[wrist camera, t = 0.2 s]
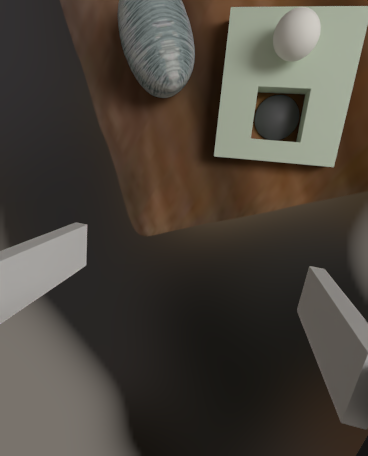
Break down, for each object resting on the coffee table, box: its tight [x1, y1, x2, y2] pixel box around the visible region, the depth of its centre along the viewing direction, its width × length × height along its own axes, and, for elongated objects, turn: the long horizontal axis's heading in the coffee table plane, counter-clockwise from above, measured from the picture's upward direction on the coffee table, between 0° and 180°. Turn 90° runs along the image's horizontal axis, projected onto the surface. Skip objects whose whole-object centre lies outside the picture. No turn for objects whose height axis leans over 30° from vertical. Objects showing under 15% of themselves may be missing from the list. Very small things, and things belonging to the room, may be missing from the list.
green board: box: [214, 6, 368, 167], centre depth 35 cm, size 18×16×3 cm
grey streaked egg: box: [118, 0, 195, 98], centre depth 34 cm, size 14×10×10 cm
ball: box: [273, 7, 321, 62], centre depth 30 cm, size 5×5×5 cm
